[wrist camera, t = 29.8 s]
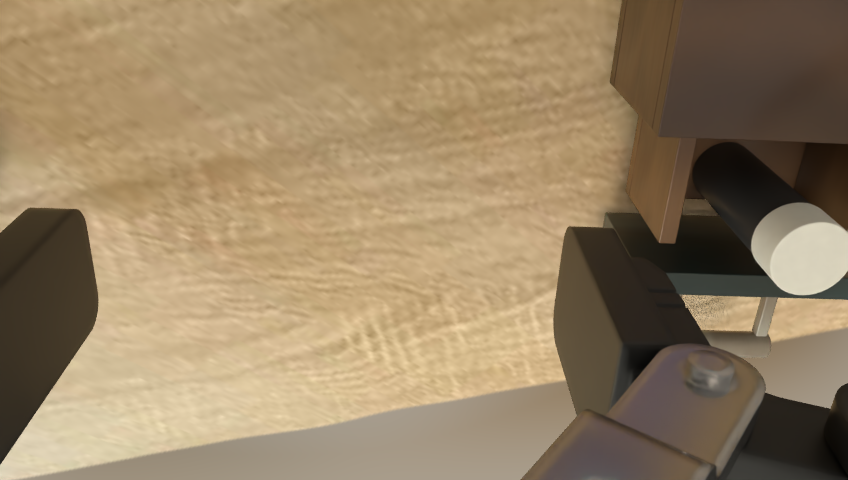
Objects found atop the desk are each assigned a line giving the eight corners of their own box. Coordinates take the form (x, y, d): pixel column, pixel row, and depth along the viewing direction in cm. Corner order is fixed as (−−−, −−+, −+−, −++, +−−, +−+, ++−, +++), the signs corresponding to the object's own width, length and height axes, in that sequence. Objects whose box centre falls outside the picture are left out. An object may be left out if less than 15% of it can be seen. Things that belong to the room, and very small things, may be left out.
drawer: (774, 314, 46) (831, 385, 39) (589, 309, 45) (617, 380, 39) (860, 18, 38) (947, 49, 32) (638, 9, 38) (682, 38, 31)
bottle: (695, 208, 41) (774, 305, 32) (685, 151, 40) (765, 236, 31) (759, 189, 41) (857, 282, 32) (751, 131, 39) (852, 211, 30)
